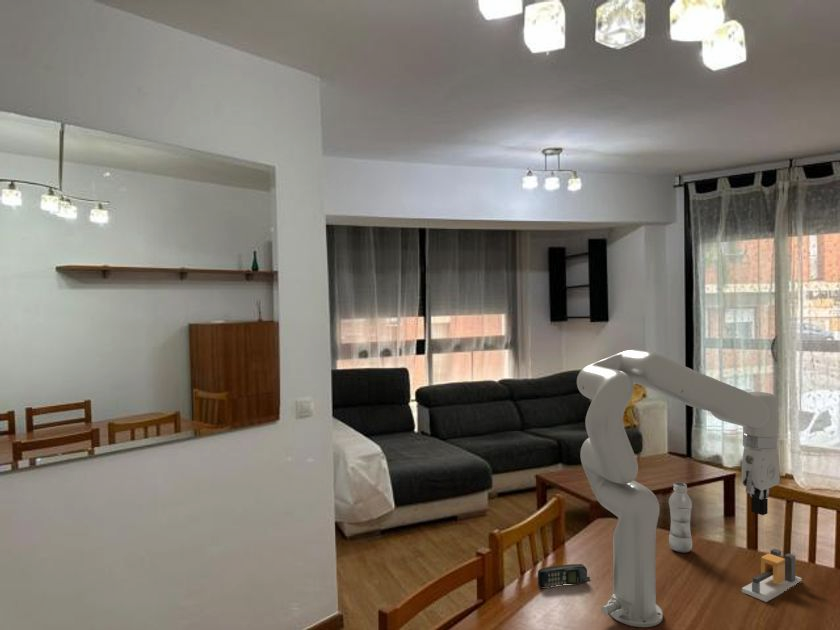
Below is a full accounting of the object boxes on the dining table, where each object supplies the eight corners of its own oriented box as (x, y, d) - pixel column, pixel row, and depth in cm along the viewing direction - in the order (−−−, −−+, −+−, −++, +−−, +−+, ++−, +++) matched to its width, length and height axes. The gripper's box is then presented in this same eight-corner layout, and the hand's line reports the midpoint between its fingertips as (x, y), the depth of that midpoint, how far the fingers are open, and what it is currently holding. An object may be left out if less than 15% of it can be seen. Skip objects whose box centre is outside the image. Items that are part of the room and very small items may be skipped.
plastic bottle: (687, 545, 174) (687, 480, 173) (696, 555, 167) (695, 488, 167) (665, 545, 175) (665, 480, 174) (673, 555, 168) (672, 487, 167)
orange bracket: (777, 584, 146) (777, 563, 146) (760, 577, 150) (760, 557, 150) (784, 579, 148) (785, 558, 148) (768, 573, 152) (768, 553, 152)
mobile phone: (540, 572, 149) (592, 564, 152) (535, 567, 152) (587, 559, 155) (541, 591, 150) (593, 583, 153) (536, 585, 152) (587, 577, 156)
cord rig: (766, 602, 142) (766, 572, 141) (741, 591, 147) (741, 563, 146) (801, 581, 151) (801, 553, 151) (777, 572, 156) (777, 545, 156)
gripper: (759, 449, 137) (759, 524, 138) (790, 440, 145) (789, 511, 146) (728, 442, 144) (728, 514, 144) (759, 434, 152) (759, 502, 152)
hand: (759, 512), depth 145 cm, fingers closed
